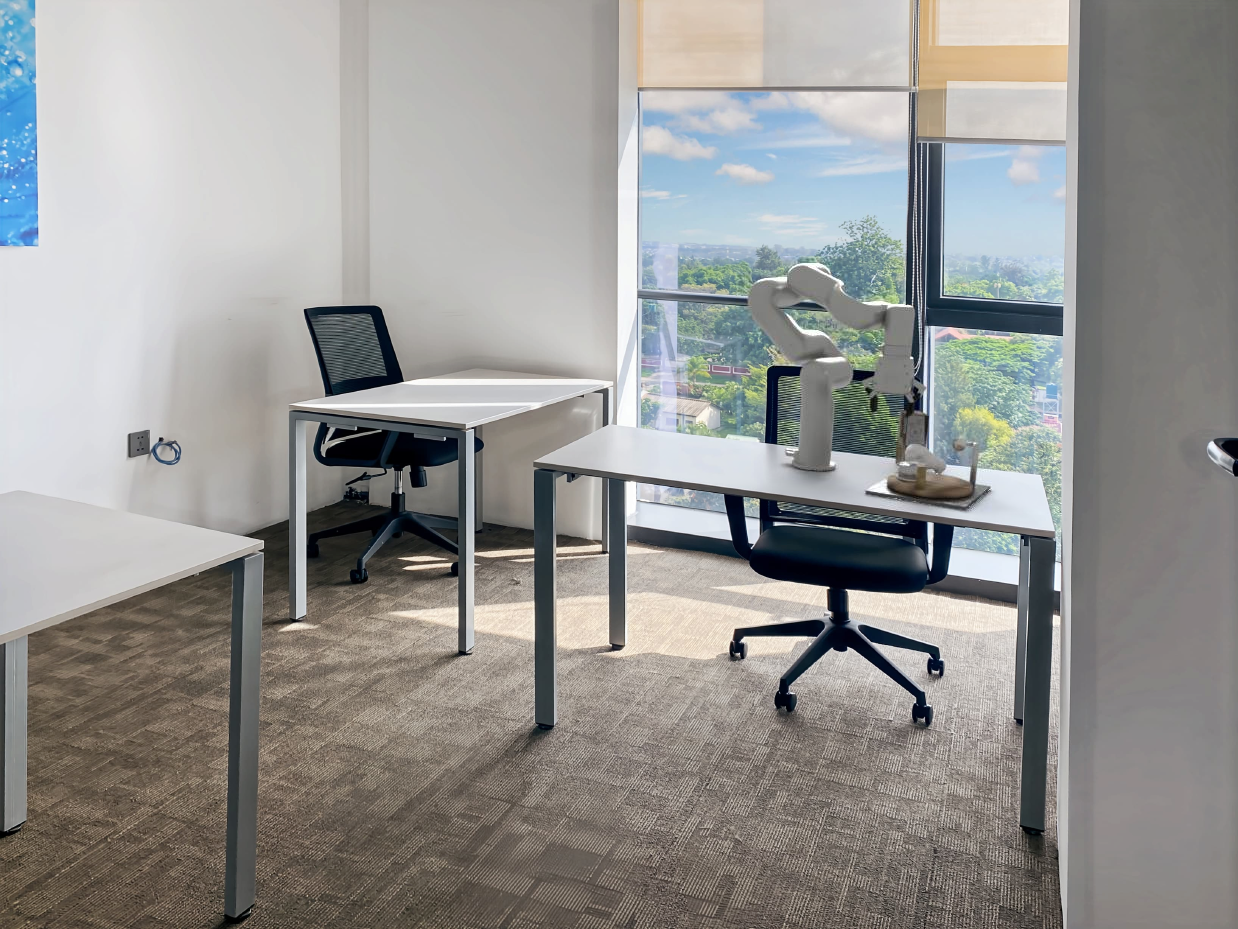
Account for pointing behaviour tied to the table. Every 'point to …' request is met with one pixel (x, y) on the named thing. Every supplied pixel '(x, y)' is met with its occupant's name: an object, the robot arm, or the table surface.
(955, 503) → the turntable base
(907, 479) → the cover
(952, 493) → the turntable
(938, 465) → the white rounded lump
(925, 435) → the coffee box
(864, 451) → the table surface
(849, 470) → the table surface
